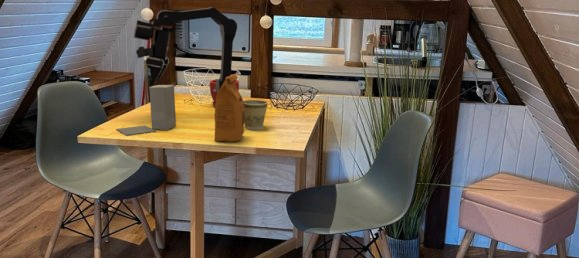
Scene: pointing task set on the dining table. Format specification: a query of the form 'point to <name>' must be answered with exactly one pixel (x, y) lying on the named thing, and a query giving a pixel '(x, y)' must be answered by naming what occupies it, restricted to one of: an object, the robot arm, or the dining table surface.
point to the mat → (135, 130)
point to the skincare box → (162, 107)
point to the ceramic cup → (254, 114)
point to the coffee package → (229, 112)
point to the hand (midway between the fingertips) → (154, 82)
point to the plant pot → (214, 93)
